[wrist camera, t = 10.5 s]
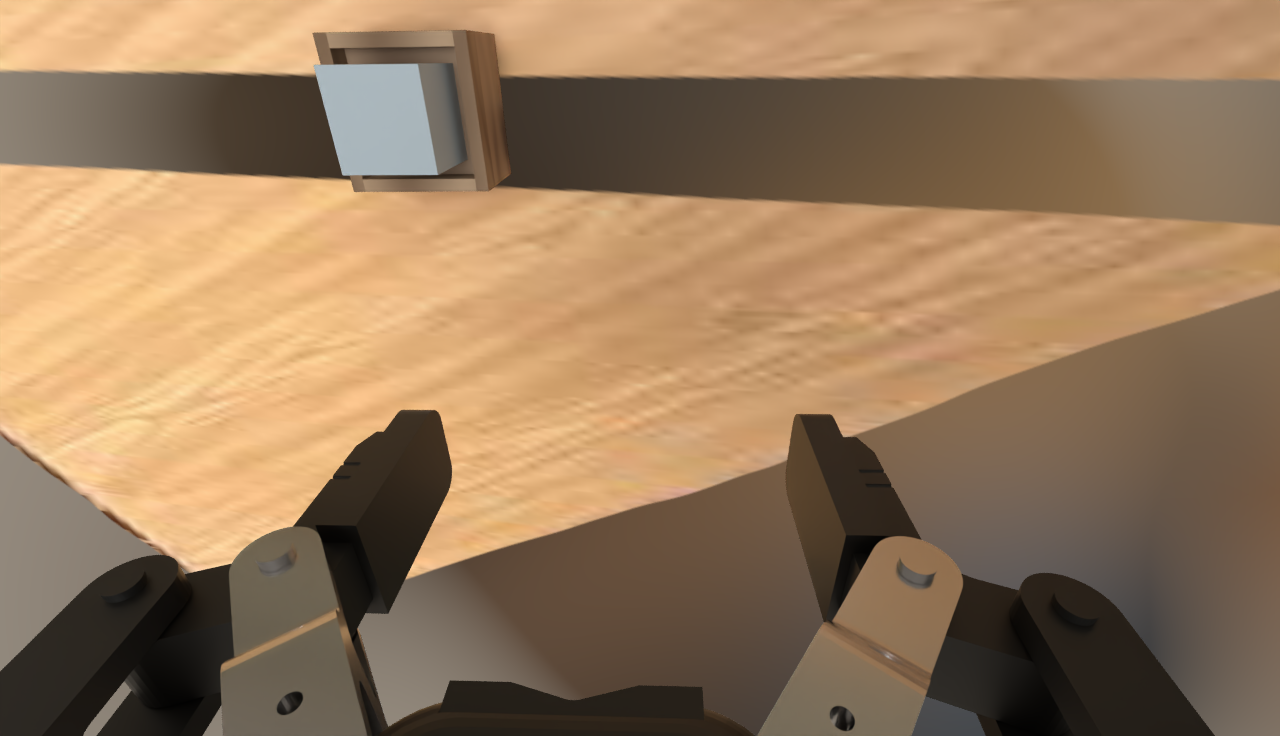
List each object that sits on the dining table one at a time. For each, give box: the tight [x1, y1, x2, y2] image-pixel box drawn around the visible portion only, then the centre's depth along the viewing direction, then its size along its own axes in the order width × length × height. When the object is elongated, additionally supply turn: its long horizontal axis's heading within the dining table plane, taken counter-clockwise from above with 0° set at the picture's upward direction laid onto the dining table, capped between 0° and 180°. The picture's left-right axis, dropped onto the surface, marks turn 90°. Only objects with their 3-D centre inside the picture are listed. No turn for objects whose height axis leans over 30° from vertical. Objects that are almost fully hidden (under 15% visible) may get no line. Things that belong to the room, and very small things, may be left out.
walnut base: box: [313, 30, 511, 192], centre depth 33 cm, size 8×8×6 cm
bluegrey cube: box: [314, 63, 468, 175], centre depth 29 cm, size 5×5×5 cm
